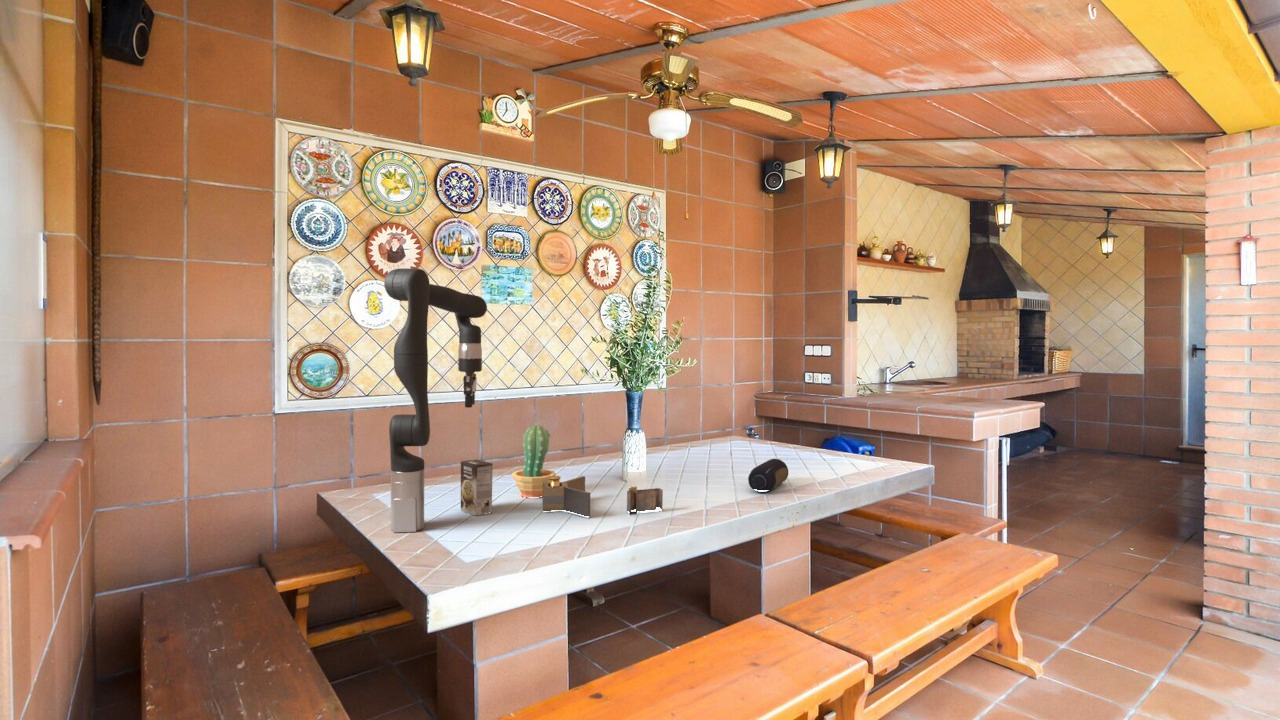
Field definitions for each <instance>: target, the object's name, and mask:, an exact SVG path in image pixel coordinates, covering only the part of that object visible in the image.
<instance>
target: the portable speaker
mask: <svg viewBox="0 0 1280 720" xmlns="http://www.w3.org/2000/svg"><path fill="white" fill-rule="evenodd" d="M788 477H789V468H788V466H787V464H786V463H785V462H784V461H783V460H781V459H780V458H770V459H769V460H765V462H763V463H761V464H759V465H757V466H755V467H754V468H753V469H752V470H750V473H749V475H748V477H747V481H748V484H749V487H750V488H751V490H753V489H757V490H771V491H772V490H773V488H774V489H775V488H776V486H777V487H778V486H779V485H781V484H782V482H783V481H784V482H785V481H786V480H787V479H788ZM784 482H783V483H784Z"/></svg>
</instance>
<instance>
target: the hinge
mask: <svg viewBox="0 0 1280 720" xmlns="http://www.w3.org/2000/svg"><path fill="white" fill-rule="evenodd" d="M541 499H542V500H541V501H542V503H541V504H542V509H541V511H542V510H543V511H551V510H566V511H570V512H574V513H577V514H581V515H584V516H590V517H591V492H589V491H586V476H583V475H582V476H578V477H575V478H571V479H568V480H565V481H560V486H550V482H543V495H542V498H541Z"/></svg>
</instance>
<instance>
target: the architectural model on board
mask: <svg viewBox="0 0 1280 720" xmlns="http://www.w3.org/2000/svg"><path fill="white" fill-rule="evenodd" d="M626 491H627V492H626V512H627V511H629V512H631V510H634V509H636V512H637V511H645V510H655V509H656V507H660V508H661V509H662V510H663V505H664V504H663V500H664V499H663V498H664V497H663V496H664V494H663V493H664V491H663V489H661V487H659V488H658V487H656V488H655V487H654V488H644V489H638V485H636V486H630V487H629V488H628V490H626Z"/></svg>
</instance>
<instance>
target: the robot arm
mask: <svg viewBox="0 0 1280 720" xmlns="http://www.w3.org/2000/svg"><path fill="white" fill-rule="evenodd" d="M384 289H385V292H386V293H387V295H388V297H390V298H392V299H393V300H395V301H399V302H400V301H401V302H407V304H408V305H407V317H406V320H405V323H404V325H403V328H402V329H401V331H400V333H399V334H398V336H397V338H396V341H395V343H394V347H393V368H394V369H393V370H394V373H395V375H396V376H397V378H398V379H399V382H400V383H401V384H402V385H403V387H404V389H405V390H406V391H407V393H408V394H409V396H410V398H411V400H412V402H413V405H414V409H415V414H395V415H393V416H392V417H391V418H390V421H389V425H388V426H389V428H388V429H389V432H388V433H389V435H388V436H389V447H390V449H389V450H390V452H389V453H390V457H389V458H390V530H391V531H393V533H414V532H415V533H416V532H417V531H420V530H421V529H424V527H425V459H424V458H422V457H420V456H417V455H414V454H412V453H411V452H409V451H408V450H406V448H405V447H424V446H427V445H428V443H429V442H430V438H431V437H430V436H431V423H430V410H429V409H430V408H429V399H428V398H429V396H428V395H429V394H428V375H429V374H428V371H429V370H428V369H429V368H428V367H429V360H428V359H429V357H428V355H429V351H428V318H429V317H428V316H429V308H430V307H435V308H437V309H440V310H443V311H447V312H450V313H454V316H455V320H456V324H457V328H458V332H459V337H458V340H459V341H458V343H459V344H458V350H457V351H458V358H457V359H458V363H457V367H458V368H457V369H458V371H459V372H463V373H464V372H465V375H463V380H462V381H463V395H464V407H465V408H466V409H467V408H472V407H473V405H475V403H476V398H475V397H476V391H477V380H478V379H477V378H478V377H477V374H476V373H478V372H479V373H480V372H482V370H483V366H482V365H483V356H482V355H483V351H482V349H483V348H482V329H481V327H480V326H478V325H475V324H472V322H471V319H479V318H482V317H483V316H485V315H486V313H487V311H488V305H487V303H486V301H485V300H484V298H483V297H481V296H479V295H476V294H470V293H463V292H461V291H459V290H456V289H454V288H451V287H447V286H442V285H437V284H431V283H430V278H429V276H428V273H427V272H426V271H425V270H424V269H422V268H394V269H392V270H390V271H389V272H387V273H386V275H385V278H384ZM429 306H430V307H429Z"/></svg>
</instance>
